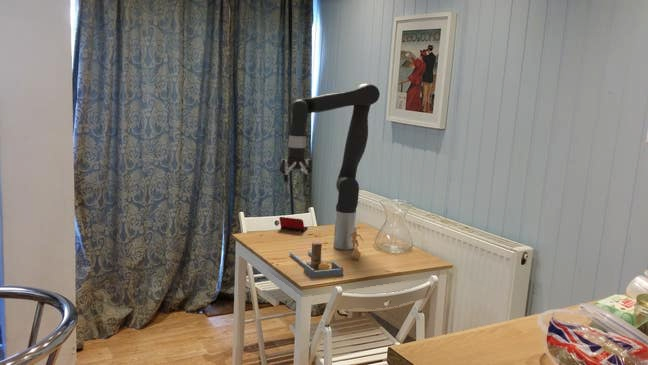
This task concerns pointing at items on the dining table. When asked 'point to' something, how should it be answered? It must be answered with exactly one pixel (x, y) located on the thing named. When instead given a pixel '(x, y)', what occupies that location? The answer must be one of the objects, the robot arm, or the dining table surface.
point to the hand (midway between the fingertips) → (295, 182)
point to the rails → (299, 258)
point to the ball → (323, 266)
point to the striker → (316, 256)
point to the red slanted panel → (292, 224)
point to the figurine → (355, 254)
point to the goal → (324, 271)
